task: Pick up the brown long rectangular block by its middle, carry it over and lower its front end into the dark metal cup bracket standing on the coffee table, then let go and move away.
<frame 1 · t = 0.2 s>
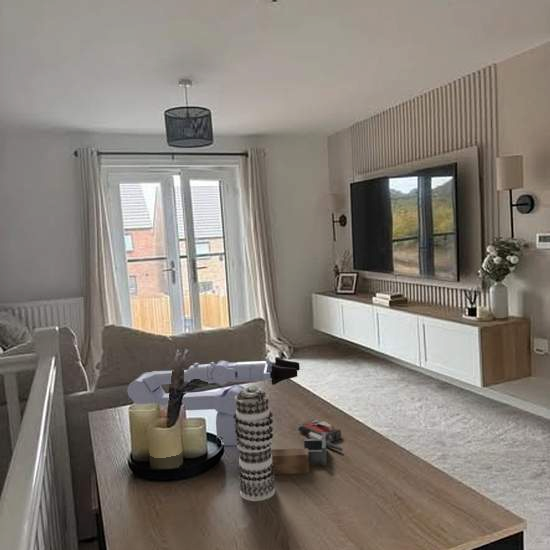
hand: (298, 369, 149), 21 cm above the table, tool horizontal, fingers open, 7 cm apart
cup bracket: (309, 457, 139), on the table
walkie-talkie: (325, 441, 151), on the table
brown long rectangular block: (278, 471, 133), on the table
decorative candle: (257, 492, 123), on the table
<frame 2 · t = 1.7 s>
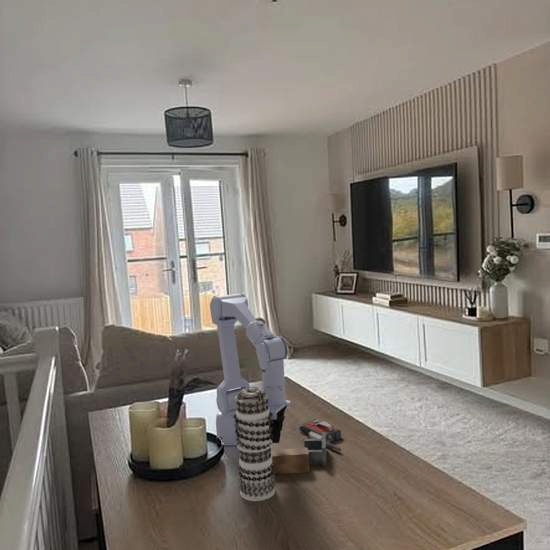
hand: (276, 436, 132), 9 cm above the table, tool pointing down, fingers open, 7 cm apart
nothing on the table moved.
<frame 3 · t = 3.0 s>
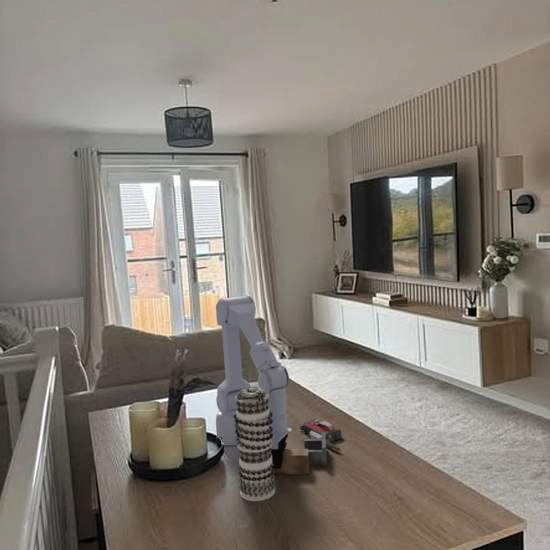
hand: (278, 464, 133), 2 cm above the table, tool pointing down, fingers closed on brown long rectangular block, 4 cm apart
brown long rectangular block: (278, 470, 133), on the table, touching gripper
everything else where it was.
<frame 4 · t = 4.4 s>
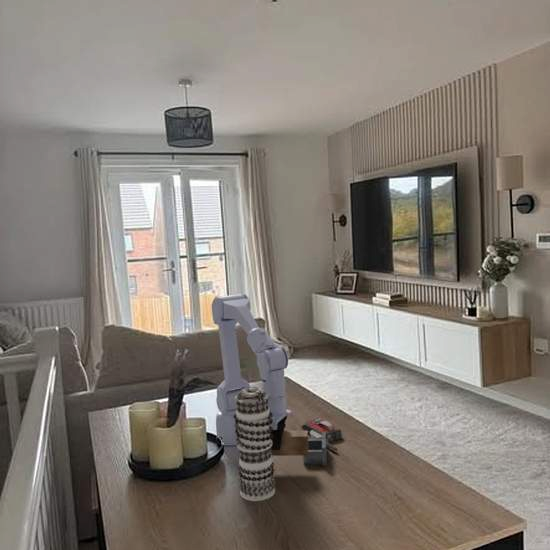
hand: (276, 445, 133), 7 cm above the table, tool pointing down, fingers closed on brown long rectangular block, 4 cm apart
brown long rectangular block: (277, 452, 133), point 5 cm above the table, touching gripper
everything else where it was.
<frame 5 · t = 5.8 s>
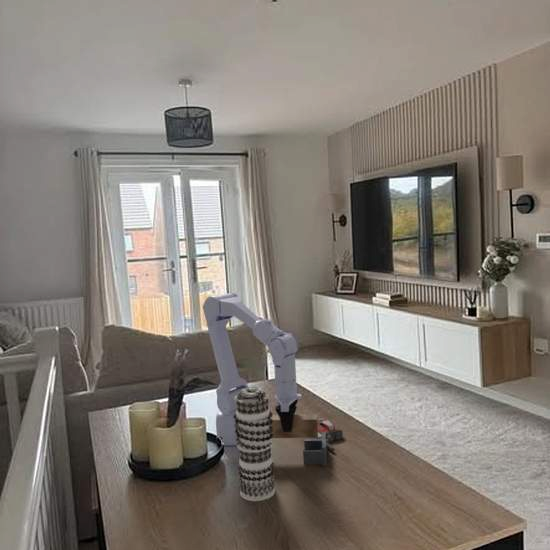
hand: (288, 428, 139), 8 cm above the table, tool pointing down, fingers closed on brown long rectangular block, 4 cm apart
brown long rectangular block: (288, 435, 139), point 6 cm above the table, touching gripper
when the fingers open (3 cm above the table, at t = 7.4 s): brown long rectangular block stays where it is, resting on cup bracket.
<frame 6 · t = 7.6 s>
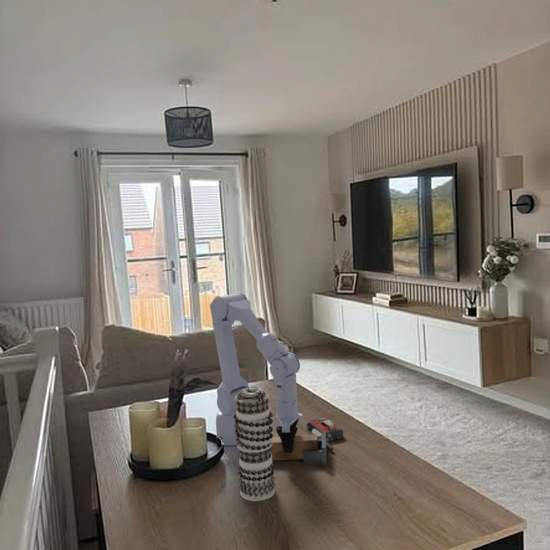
hand: (289, 447, 140), 3 cm above the table, tool pointing down, fingers open, 5 cm apart
brown long rectangular block: (289, 456, 140), resting on cup bracket
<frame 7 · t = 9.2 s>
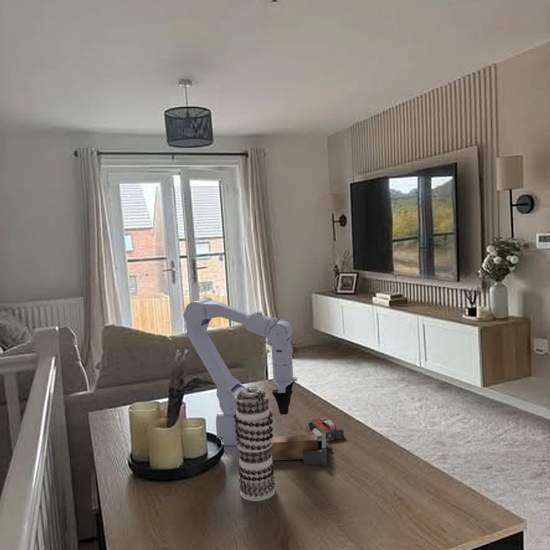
hand: (285, 409, 148), 10 cm above the table, tool pointing down, fingers open, 7 cm apart
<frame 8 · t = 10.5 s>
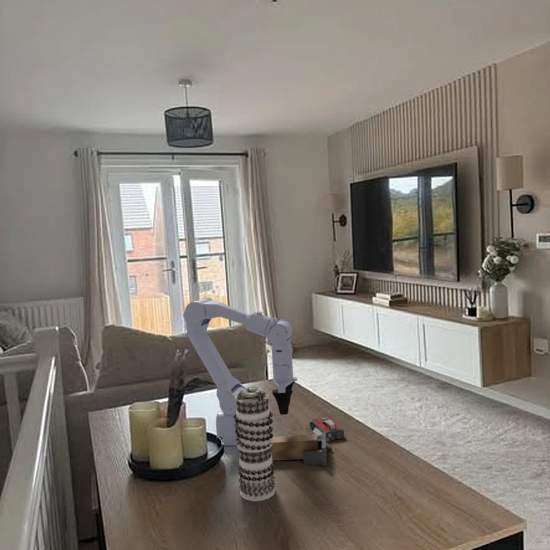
hand: (285, 409, 148), 10 cm above the table, tool pointing down, fingers open, 7 cm apart
at the end: brown long rectangular block 0.2 cm from the target spot, on the table; brown long rectangular block tilted 3°; the gripper is holding nothing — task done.
